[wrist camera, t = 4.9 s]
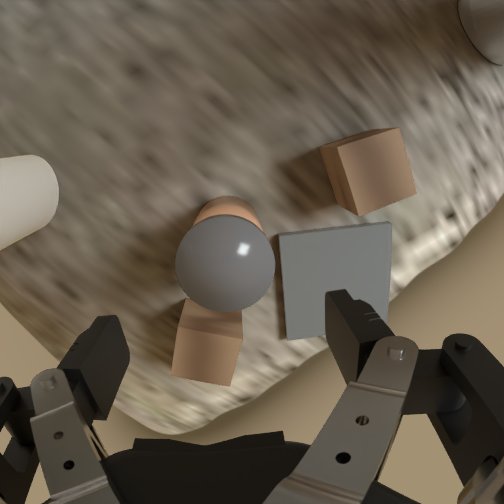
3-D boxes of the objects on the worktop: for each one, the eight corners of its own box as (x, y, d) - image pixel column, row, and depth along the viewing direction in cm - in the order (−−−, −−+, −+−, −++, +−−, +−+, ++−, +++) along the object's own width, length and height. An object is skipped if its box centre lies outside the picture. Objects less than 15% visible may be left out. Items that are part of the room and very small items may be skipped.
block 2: (370, 129, 24) (398, 127, 19) (387, 184, 26) (416, 193, 21) (317, 146, 24) (336, 147, 20) (337, 203, 26) (358, 216, 21)
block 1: (241, 308, 29) (243, 339, 24) (229, 352, 30) (229, 386, 25) (186, 297, 28) (177, 326, 23) (178, 342, 29) (170, 375, 25)
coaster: (388, 221, 27) (392, 223, 26) (383, 319, 30) (386, 323, 29) (277, 233, 26) (279, 236, 26) (286, 336, 30) (287, 340, 29)
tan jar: (257, 190, 25) (270, 211, 17) (264, 255, 27) (278, 305, 18) (189, 198, 25) (166, 225, 17) (199, 263, 27) (185, 316, 18)
